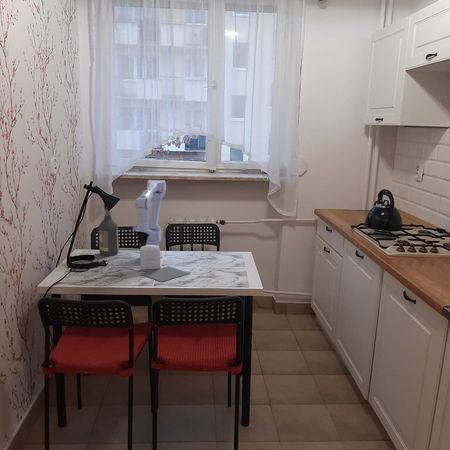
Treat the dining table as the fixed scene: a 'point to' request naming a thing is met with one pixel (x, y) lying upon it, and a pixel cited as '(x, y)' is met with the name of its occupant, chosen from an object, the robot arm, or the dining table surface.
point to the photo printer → (150, 257)
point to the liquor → (108, 235)
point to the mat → (165, 274)
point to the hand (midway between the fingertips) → (143, 246)
